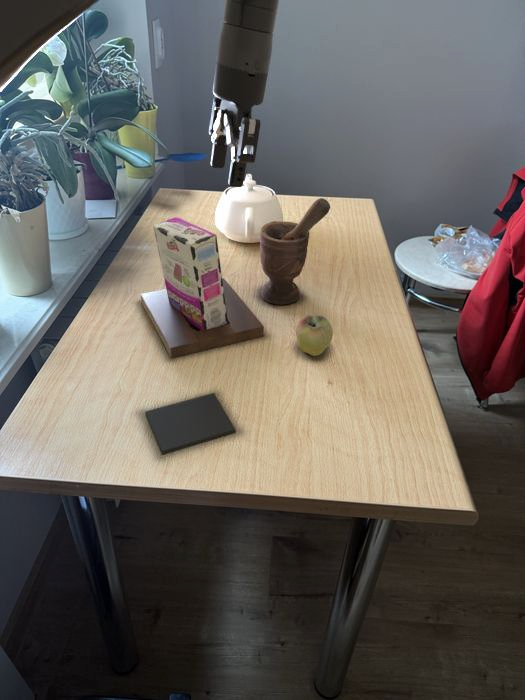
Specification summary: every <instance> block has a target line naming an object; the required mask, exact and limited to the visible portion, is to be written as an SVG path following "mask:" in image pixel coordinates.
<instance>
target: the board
mask: <svg viewBox="0 0 525 700" xmlns="http://www.w3.org/2000/svg"><path fill="white" fill-rule="evenodd" d="M222 282H223V289H224V297H225V304H226V311H227V318H228V324H227V325H223V326H219V327H215V328H210V329H206V330H201V331H200V330H197V331H194V330H193V329H192V327H191V325H190V323H188V322H187V321H186V319H185V318H184V316H183V315H182V313H181V312H180V311H179V310H178V309H177V308H175V307H174V306H173V305H171V304H170V303H169V299H168V294H167V290H166V288H164V289H159V290H155V291H149V292H144V293H140V301H141V305H142V306H143V309H144V311H145V312H146V315H147V316H148V318H149V319H150V321H151V323H152V326H153V327H154V329H155V331H156V333H157V334H158V336H159V338H160V340H161V342H162V343H163V345H164V347H165V349H166V351H167V354H168V355H169V357H170V359H174V358H178V357H181V356H185V355H190V354H194V353H199V352H203V351H207V350H212V349H216V348H220V347H224V346H229V345H232V344H236V343H239V342H240V343H241V342H244V341H249V340H253V339H257V338H262V337H264V331H265V330H264V329H265V327H264V325H263V323H262V322H261V321H260V320H259V319H258V317H257V316H256V315H255V314H254V312H253V311H251V309H250V308H249V307H248V306H247V305H246V303H245V302H244V301H243V299H242V298H241V297H240V296H239V295H238V294H237V292H236V291H235V290H234V288H232V286H231V285H230V284H229V283H228V281H226V279H225V278H224V277H222Z"/></svg>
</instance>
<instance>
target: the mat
mask: <svg viewBox="0 0 525 700" xmlns="http://www.w3.org/2000/svg"><path fill="white" fill-rule="evenodd" d="M144 412H145V413H144V414H145V417H146V419H147V422H148V424H149V426H150V429H151V431H152V433H153V436H154V438H155V441H156V443H157V446H158V449H159V451H160V453H161V455H166V454H168V453H171V452H175V451H179V450H181V449H184V448H189V447H192V446H195V445H199V444H201V443H205V442H209V441H211V440H214V439H218V438H222V437H225V436H228V435H231V434H234V433H236V427H235V426H234V424H233V422H232V421H231V419H230V418H229V416H228V414H227V412H226V411H225V409H224V407H223V406H222V404H221V402H220V400H219V399H218V397H217V395H216V393H215V392H212V393H210V394H205V395H201V396H197V397H193V398H190V399H186V400H183V401H179V402H175V403H171V404H168V405H164V406H161V407H157V408H154V409H153V408H152V409H149V410H146V411H144Z"/></svg>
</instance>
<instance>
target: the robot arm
mask: <svg viewBox="0 0 525 700" xmlns="http://www.w3.org/2000/svg"><path fill="white" fill-rule="evenodd" d="M99 1H100V0H0V93H1V92H2V91H3V90H4V89H5V88H6V87H7V86H8V85H9V83H10V82H11V81H12V80H13V79H14V78H15V77H16V76H17V75H18V74H19V72H20V71H21V70H22V69H23V68H24V67H25V66H26V65H27V63H28V62H30V60H31V59H32V58H33V57H34V56H35V55H36V54H37V53H38V52H39V51H41V49H42V48H43V47H44V46H46V45H48V44H49V42H50V41H51V40H53V39H54V38H55V37H56V36H57V35H59V34H60V33H61V32H62V31H64V30H65V29H67V27H69V26H70V25H71V24H72V23H74V22H75V21H76V20H77V19H78V18H79V17H81V16H82V15H84V14H85V13H86V12H88V11H89V10H90V9H91V8H92V7H93V6H95V5H96V4H97V3H98V2H99ZM279 2H280V0H225V4H224V11H223V19H222V21H223V22H222V26H221V31H220V34H219V39H218V45H217V51H216V52H217V53H216V59H215V69H214V77H213V84H212V93H213V98H212V107H211V114H210V120H209V127H208V134H209V135H208V136H211V142H212V148H211V149H212V150H211V157H210V166H211V167H212V168H214V169H224V168H225V165H226V159H227V150H228V148H230V152H231V153H230V155H231V161H230V167H229V174H228V179H227V184H228V185H229V187H242V185H243V184H244V183H243V182H244V181H245V176H246V175H245V174H246V168H247V164H254V163H255V162H256V156H257V150H258V143H259V138H260V137H259V136H260V130H261V120H260V119H257V118H253V117H252V109H253V107H255V106H260V105H262V104H263V102H264V98H265V92H266V87H267V81H268V75H269V70H270V65H271V58H272V53H273V37H274V30H275V25H276V19H277V14H278V8H279Z"/></svg>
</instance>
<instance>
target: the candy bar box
mask: <svg viewBox="0 0 525 700" xmlns="http://www.w3.org/2000/svg"><path fill="white" fill-rule="evenodd" d="M152 228H153V231H154V237H155V240H156V246H157V251H158V256H159V260H160V266H161V269H162V270H161V271H162V275H163V280H164V284H165V289H166V290H167V294H168V299H169V303H170V304H171V305H173V306H174V307H175V308H177V309H178V310H179V311H180V312H181V313H182V315H183V316H184V318H185V319H186V321H187V322H188V324H189V325H190V326H192V327H194V328H196V329H197V330H198V331H201V330H206V329H210V328H215V327H219V326H223V325H227V324H228V318H227V311H226V304H225V297H224V289H223V282H222V278H223V274H222V273H223V272H222V267H221V261H220V252H219V243H218V237H217V234H216V233H213V232H211V231H209V230H206V229H205V228H203V227H201V226H198V225H196V224H195V223H192V222H189V221H188V220H184V219H183V218H180V217H178V216H175V217H172V218H170V219H167V220H164V221H162V222H159V223H156V224H153V227H152Z"/></svg>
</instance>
